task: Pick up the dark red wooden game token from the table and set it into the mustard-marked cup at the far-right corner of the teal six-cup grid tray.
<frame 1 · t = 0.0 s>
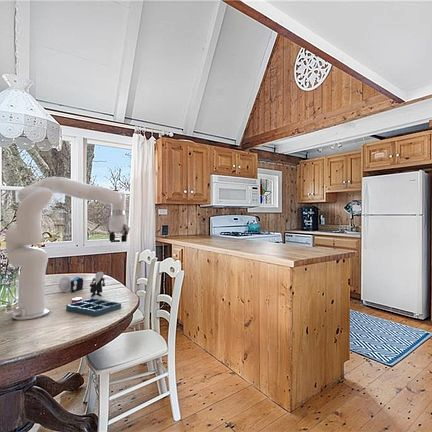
hand: (118, 241, 183), 31 cm above the table, tool pointing down, fingers open, 9 cm apart
grid: (94, 309, 152), on the table
toy 2: (71, 290, 185), on the table
toy: (99, 293, 181), on the table
token: (76, 304, 159), on the table
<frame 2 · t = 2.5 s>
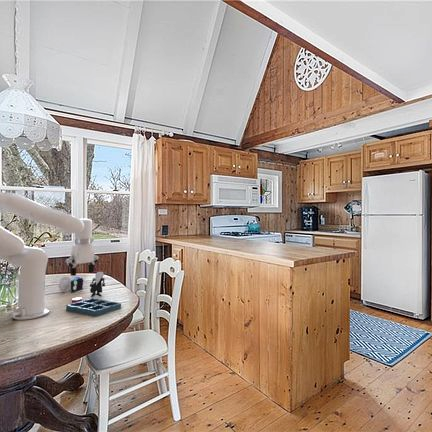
hand: (82, 273, 162), 16 cm above the table, tool pointing down, fingers open, 9 cm apart
nothing on the table moved.
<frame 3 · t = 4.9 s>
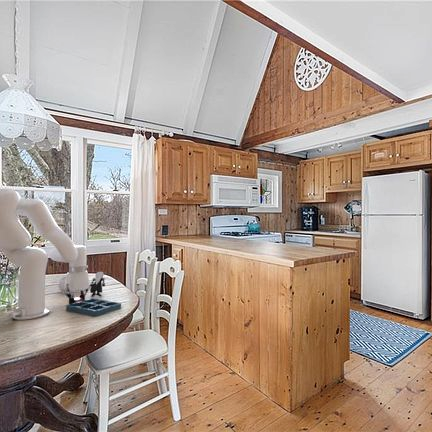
hand: (76, 303, 159), 0 cm above the table, tool pointing down, fingers closed on token, 4 cm apart
token: (76, 304, 159), on the table, touching gripper
everything else where it was.
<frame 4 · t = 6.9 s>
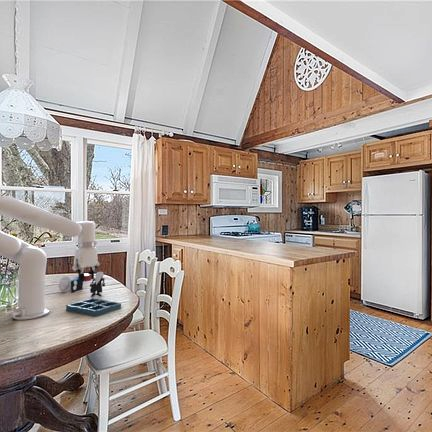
hand: (86, 279, 158), 13 cm above the table, tool pointing down, fingers closed on token, 4 cm apart
token: (86, 280, 158), point 13 cm above the table, touching gripper
everything else where it was.
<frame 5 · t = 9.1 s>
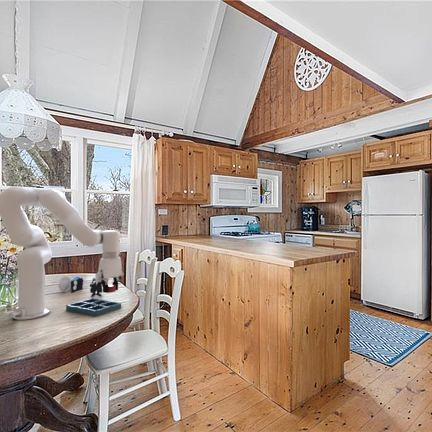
hand: (110, 290, 153), 9 cm above the table, tool pointing down, fingers closed on token, 4 cm apart
token: (110, 291, 153), point 9 cm above the table, touching gripper
everything else where it was.
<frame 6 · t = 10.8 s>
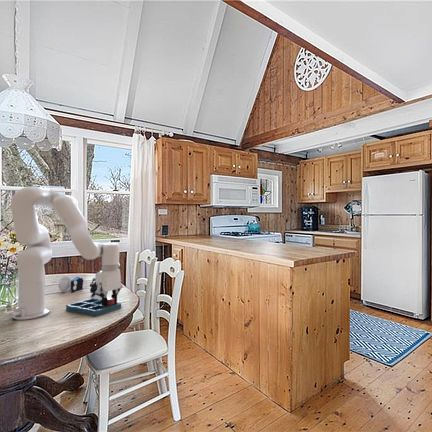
hand: (109, 303, 152), 3 cm above the table, tool pointing down, fingers closed on token, 4 cm apart
token: (109, 304, 152), point 3 cm above the table, touching gripper
everything else where it was.
when the fingers open (3 cm above the table, at t = 13.8 s): token drops 2 cm, resting on grid.
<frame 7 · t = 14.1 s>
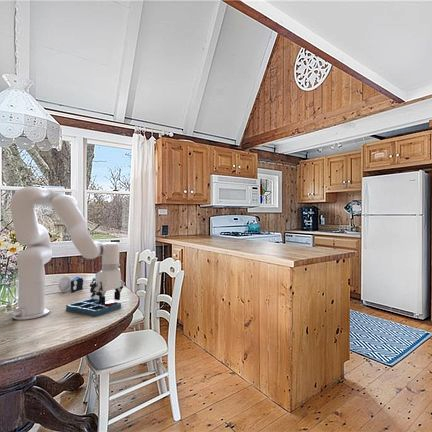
hand: (109, 301, 152), 4 cm above the table, tool pointing down, fingers open, 7 cm apart
token: (109, 308, 152), point 1 cm above the table, touching grid
everything else where it was.
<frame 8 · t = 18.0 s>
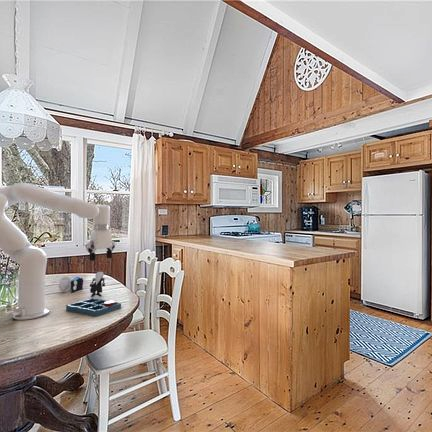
hand: (100, 259, 164), 23 cm above the table, tool pointing down, fingers open, 9 cm apart
nothing on the table moved.
at the end: token 0.1 cm from the target spot in the grid, point 0.7 cm above the grid's base; token tilted 0°; the gripper is holding nothing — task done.
